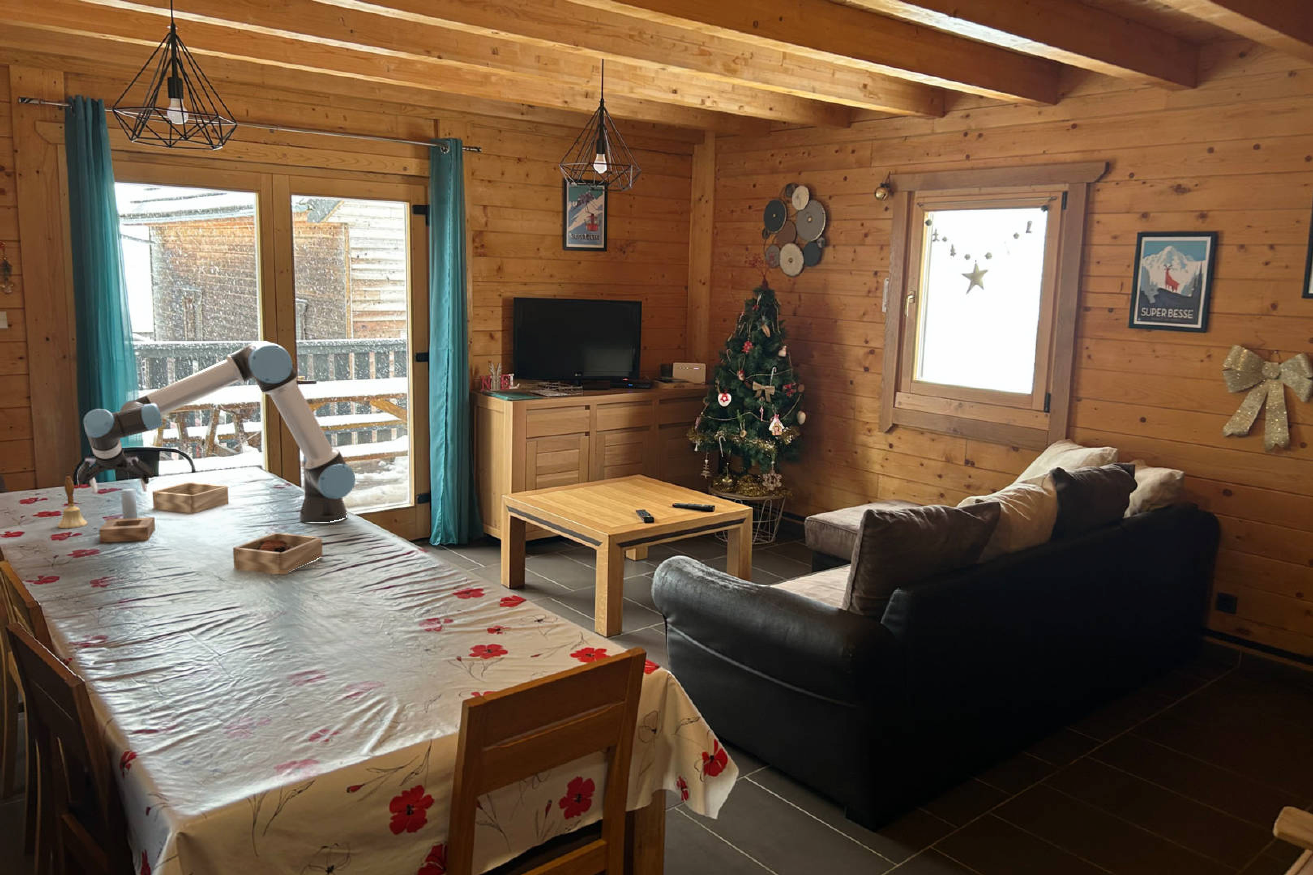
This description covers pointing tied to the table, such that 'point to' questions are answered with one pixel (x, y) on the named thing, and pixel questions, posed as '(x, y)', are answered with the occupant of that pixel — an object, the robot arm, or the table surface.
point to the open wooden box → (277, 554)
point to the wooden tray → (190, 497)
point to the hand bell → (71, 509)
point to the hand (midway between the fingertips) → (120, 489)
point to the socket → (127, 529)
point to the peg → (129, 503)
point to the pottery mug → (273, 546)
